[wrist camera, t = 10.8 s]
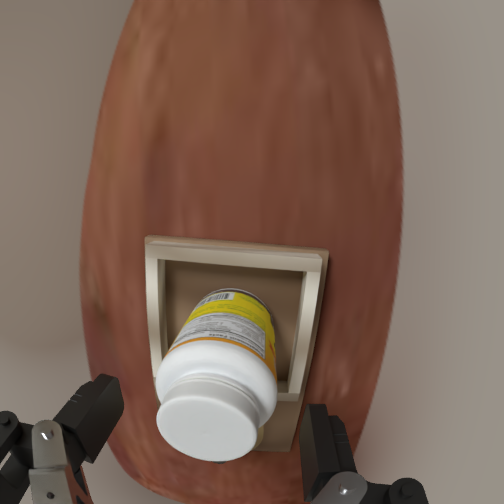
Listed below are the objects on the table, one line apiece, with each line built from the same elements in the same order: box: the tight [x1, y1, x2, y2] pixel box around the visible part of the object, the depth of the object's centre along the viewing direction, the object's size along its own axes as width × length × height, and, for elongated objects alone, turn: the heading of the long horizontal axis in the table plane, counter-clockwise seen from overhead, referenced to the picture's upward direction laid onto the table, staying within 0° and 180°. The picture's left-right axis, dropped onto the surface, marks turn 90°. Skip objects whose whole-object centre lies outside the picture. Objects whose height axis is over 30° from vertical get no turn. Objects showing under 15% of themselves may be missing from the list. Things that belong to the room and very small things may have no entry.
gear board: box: [145, 235, 329, 464], centre depth 18 cm, size 19×12×6 cm, turn 176°
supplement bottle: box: [156, 288, 277, 461], centre depth 14 cm, size 6×6×10 cm
